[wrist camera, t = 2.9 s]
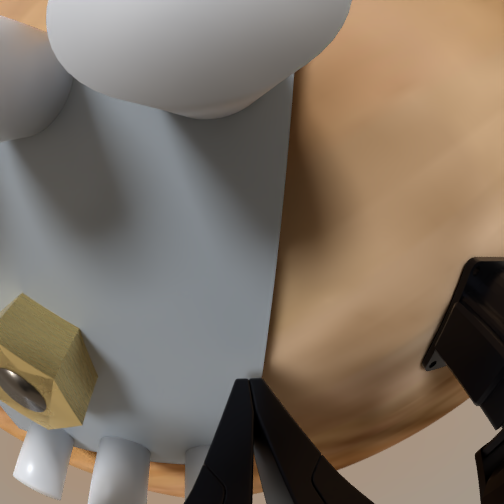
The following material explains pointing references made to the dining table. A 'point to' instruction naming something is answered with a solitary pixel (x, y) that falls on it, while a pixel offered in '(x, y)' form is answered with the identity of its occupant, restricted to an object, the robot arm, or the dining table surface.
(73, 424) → the nut
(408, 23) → the dining table surface
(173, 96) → the board
